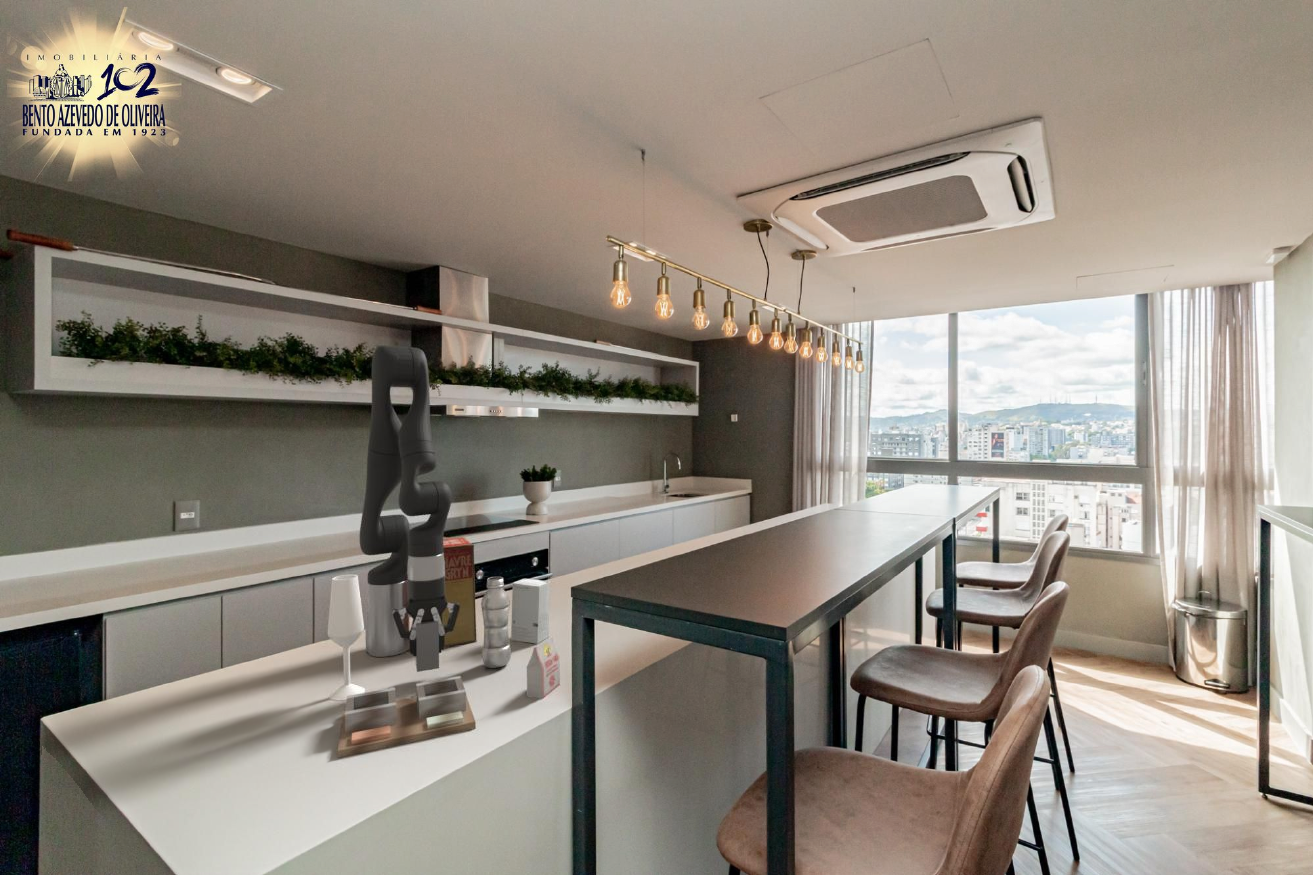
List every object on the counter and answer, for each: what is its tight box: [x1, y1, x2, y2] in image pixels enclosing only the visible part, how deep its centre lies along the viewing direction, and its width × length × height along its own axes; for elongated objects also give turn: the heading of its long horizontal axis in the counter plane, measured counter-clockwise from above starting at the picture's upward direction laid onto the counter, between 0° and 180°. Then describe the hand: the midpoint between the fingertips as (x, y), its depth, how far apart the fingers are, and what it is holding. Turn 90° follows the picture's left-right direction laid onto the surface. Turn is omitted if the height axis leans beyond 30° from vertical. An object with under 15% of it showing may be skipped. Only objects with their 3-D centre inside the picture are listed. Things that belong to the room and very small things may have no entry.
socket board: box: [337, 675, 476, 759], centre depth 111 cm, size 22×16×5 cm
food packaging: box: [440, 536, 477, 648], centre depth 157 cm, size 13×9×25 cm
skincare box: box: [510, 578, 551, 645], centre depth 155 cm, size 8×6×15 cm
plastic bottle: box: [480, 576, 512, 669], centre depth 138 cm, size 6×7×20 cm
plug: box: [415, 621, 440, 673], centre depth 130 cm, size 4×4×10 cm
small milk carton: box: [526, 636, 561, 699], centre depth 124 cm, size 4×7×10 cm, turn 160°
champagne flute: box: [327, 574, 366, 701], centre depth 124 cm, size 7×7×24 cm
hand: (427, 653), depth 130 cm, fingers closed on plug, 4 cm apart
